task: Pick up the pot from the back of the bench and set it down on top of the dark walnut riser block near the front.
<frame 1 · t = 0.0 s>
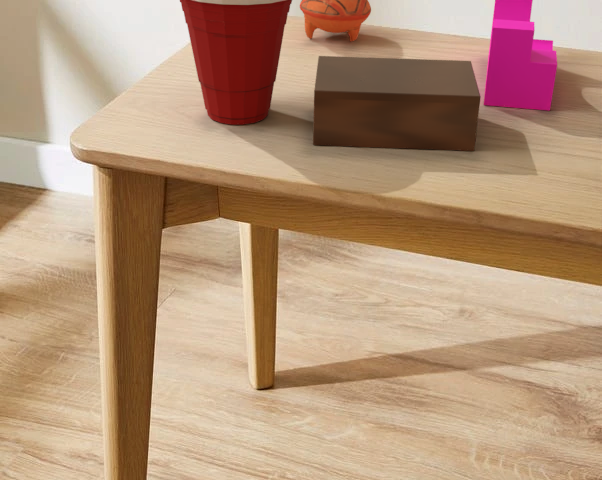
plastic cup: (238, 114, 91), on the table
pot: (334, 38, 111), on the table
walnut riser: (392, 128, 89), on the table
toy block: (516, 82, 100), on the table
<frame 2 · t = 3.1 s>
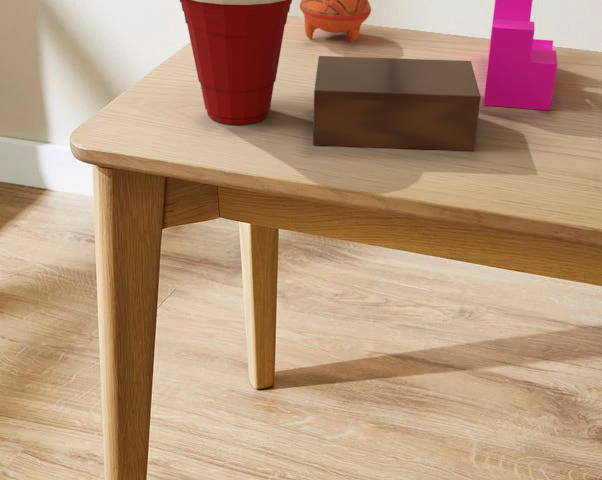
nothing on the table moved.
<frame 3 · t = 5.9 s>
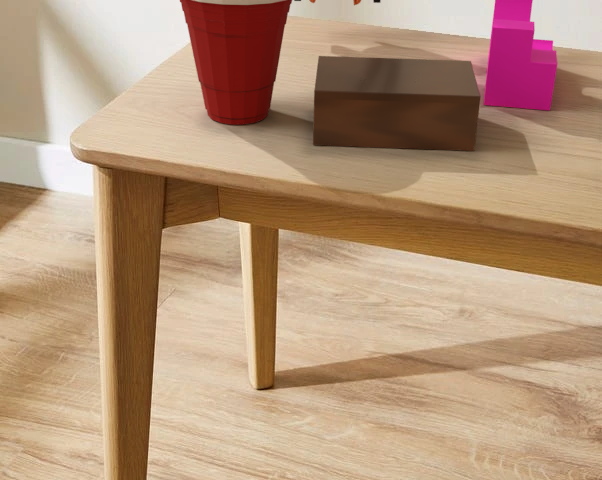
pot: (337, 3, 108), point 4 cm above the table, touching gripper
everything else where it was.
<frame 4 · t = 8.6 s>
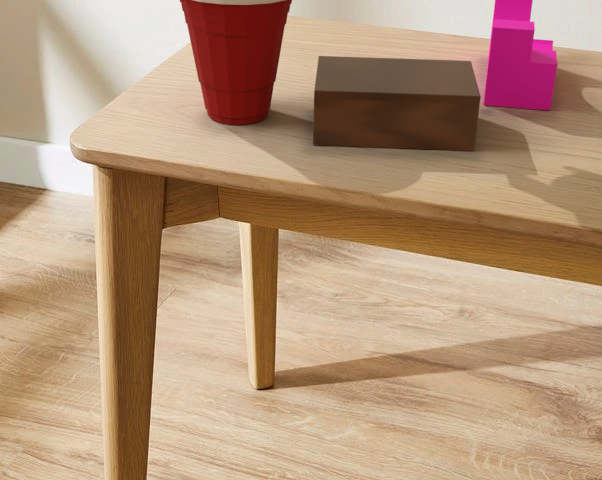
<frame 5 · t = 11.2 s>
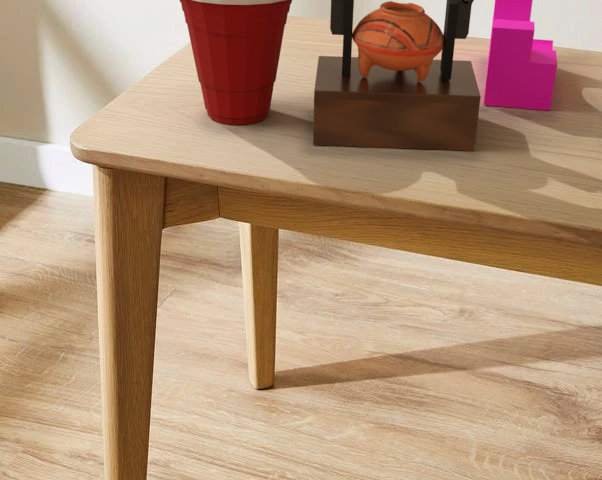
hand: (395, 71, 86), 5 cm above the table, tool pointing down, fingers closed on pot, 8 cm apart
pot: (395, 77, 86), point 5 cm above the table, touching gripper, walnut riser
everything else where it was.
when the fingers open (5 cm above the table, at t = 11.5 s): pot stays where it is, resting on walnut riser.
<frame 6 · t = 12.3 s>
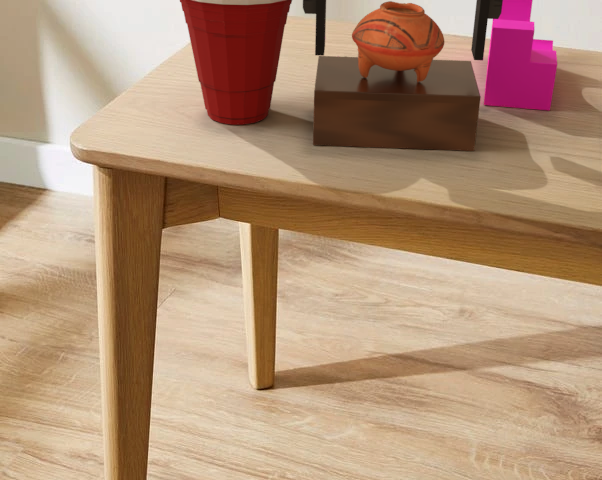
hand: (398, 53, 85), 7 cm above the table, tool pointing down, fingers open, 13 cm apart
pot: (395, 77, 86), point 5 cm above the table, touching walnut riser
everything else where it was.
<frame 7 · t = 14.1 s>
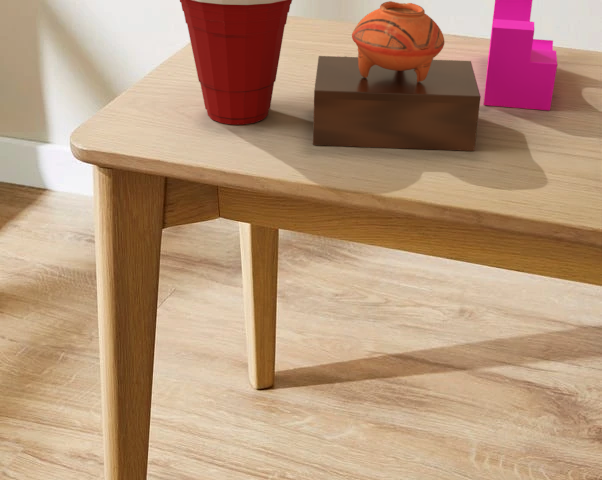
nothing on the table moved.
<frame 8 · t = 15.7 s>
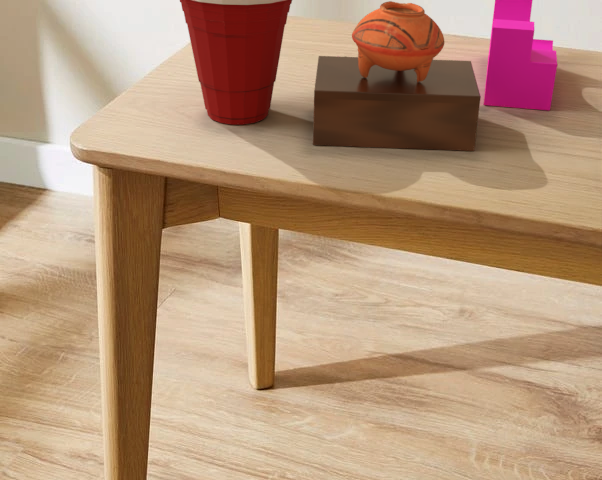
nothing on the table moved.
at the end: pot inside the target area on the walnut riser (0.1 cm from its centre), point 4.8 cm above the walnut riser's base; pot tilted 0°; the gripper is holding nothing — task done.
